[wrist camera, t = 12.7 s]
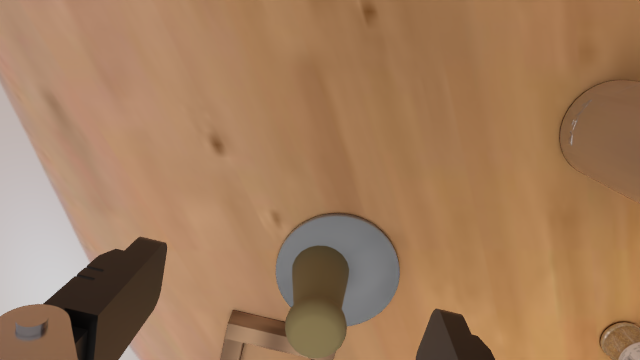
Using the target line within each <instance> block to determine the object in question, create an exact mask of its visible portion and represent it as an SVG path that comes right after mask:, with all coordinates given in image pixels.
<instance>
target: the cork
mask: <svg viewBox="0 0 640 360" xmlns="http://www.w3.org/2000/svg"><path fill="white" fill-rule="evenodd" d="M348 277H349V267H348V263H347V261H346V259H345V258H344V256H343V255H342V254H341V253H340V252H338V251H337V250H336V249H333V248H331V247H328V246H319V245H317V246H313V247H309V248H307V249H305V250H303V251H301V252H300V254H299V255H298V256H297V257H296V258H295V260H294V263H293V265H292V283H293V306H292V307H291V309H290V311H289V313H288V315H287V317H286V322H285V332H286V336H287V339H288V342H289V343H290V345H291V346H292V347H293V349H294V350H295V351H297V352H298V353H299V354H301V355H303V356H306V357H308V358H317V359H318V358H323V357H327V356H329V355H331V354H333V353H334V352H335V351H336V350H337V349H338V348H340V347H341V345H342V343H343V341H344V339H345V336H346V330H347V322H346V319H345V315H344V313H343V311H342V306H343V301H344V296H345V292H346V287H347V282H348Z"/></svg>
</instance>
